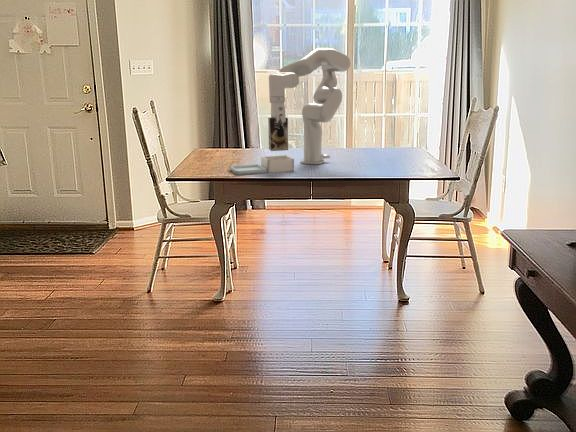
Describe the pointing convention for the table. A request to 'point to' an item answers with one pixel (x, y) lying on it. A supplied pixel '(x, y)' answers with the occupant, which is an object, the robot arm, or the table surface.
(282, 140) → the coffee box
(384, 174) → the table surface
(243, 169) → the tray
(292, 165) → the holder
